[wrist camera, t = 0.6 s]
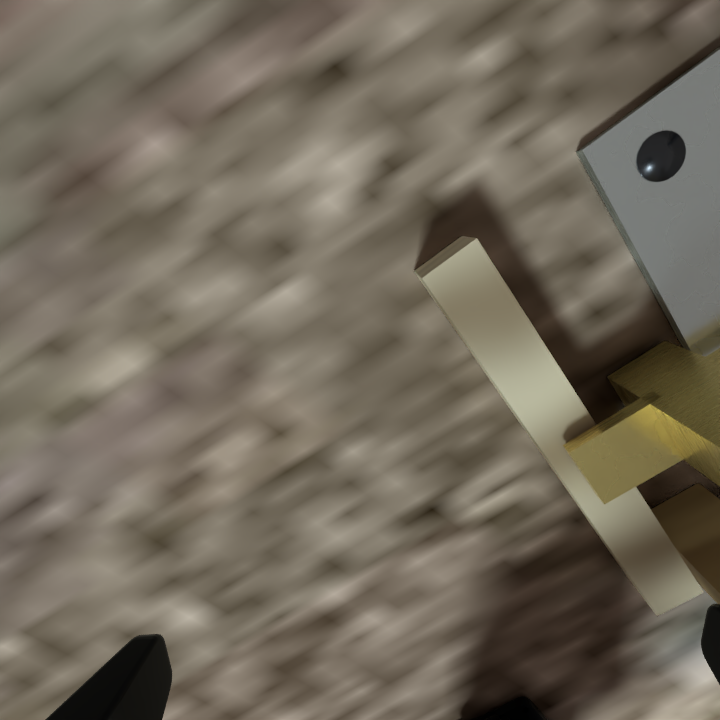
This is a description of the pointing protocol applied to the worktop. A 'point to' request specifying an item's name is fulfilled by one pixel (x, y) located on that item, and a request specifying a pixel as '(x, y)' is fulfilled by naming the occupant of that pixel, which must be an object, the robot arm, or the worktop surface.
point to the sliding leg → (655, 422)
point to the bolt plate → (670, 197)
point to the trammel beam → (574, 433)
